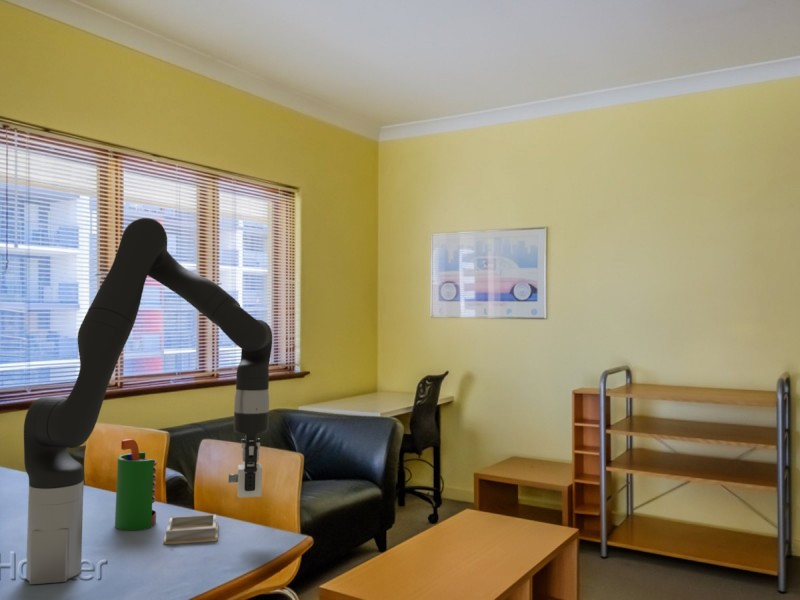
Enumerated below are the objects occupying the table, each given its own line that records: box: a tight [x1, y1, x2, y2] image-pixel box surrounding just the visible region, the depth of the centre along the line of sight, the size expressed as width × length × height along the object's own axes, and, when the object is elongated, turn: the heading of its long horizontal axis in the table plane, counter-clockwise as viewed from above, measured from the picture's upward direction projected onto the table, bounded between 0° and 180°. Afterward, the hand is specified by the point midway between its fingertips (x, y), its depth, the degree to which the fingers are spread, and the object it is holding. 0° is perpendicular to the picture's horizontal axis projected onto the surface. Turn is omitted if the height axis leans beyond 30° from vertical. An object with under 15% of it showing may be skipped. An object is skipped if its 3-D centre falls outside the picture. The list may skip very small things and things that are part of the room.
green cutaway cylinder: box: [114, 438, 158, 531], centre depth 154 cm, size 10×9×20 cm
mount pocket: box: [162, 513, 219, 546], centre depth 147 cm, size 11×11×3 cm
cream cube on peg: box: [228, 463, 263, 498], centre depth 144 cm, size 5×7×6 cm
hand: (249, 487), depth 144 cm, fingers closed on cream cube on peg, 5 cm apart
